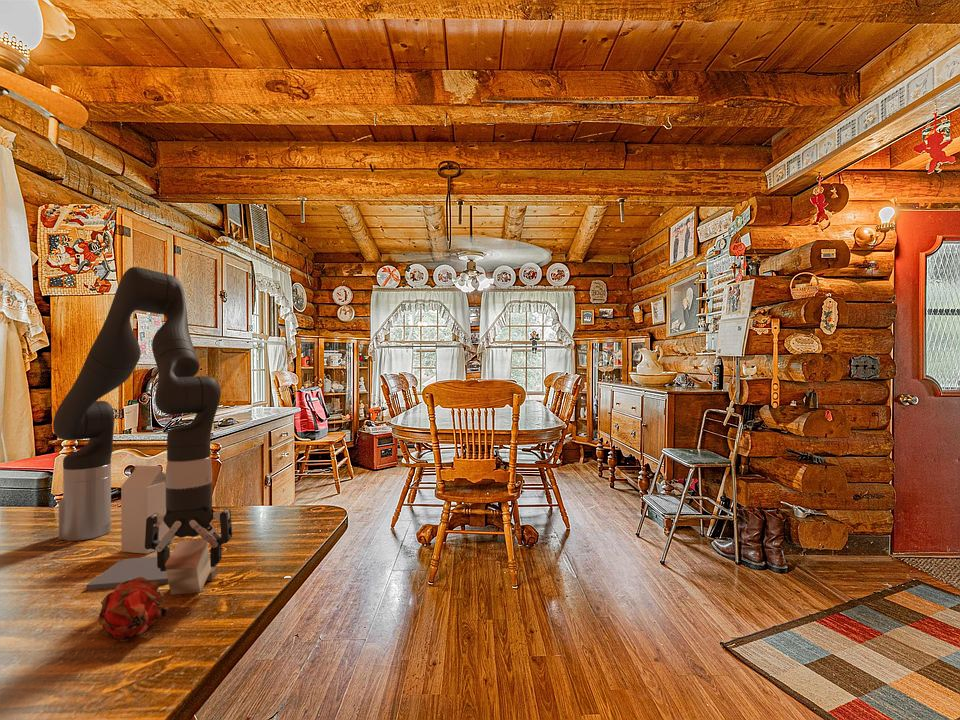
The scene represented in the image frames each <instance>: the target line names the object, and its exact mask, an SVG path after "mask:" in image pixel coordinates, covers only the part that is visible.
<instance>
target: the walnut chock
mask: <svg viewBox="0 0 960 720" xmlns="http://www.w3.org/2000/svg"><path fill="white" fill-rule="evenodd" d="M211 568H212V569H211V571H210V573H209V575H208V577H207V579H206V581H205V582H209V581H210V582H211V581H214V579H215V578H216V577H217V576H218V575H219V566H218V565H216V566H215V567H211Z"/></svg>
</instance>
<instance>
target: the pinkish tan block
mask: <svg viewBox="0 0 960 720" xmlns="http://www.w3.org/2000/svg"><path fill="white" fill-rule="evenodd" d="M165 568H166V573H167V578H168V587H169V591H170V595H173V596H174V595H183V594H194V593H201V592H202V590H203V588H204V586H205V583H206V582H207V581H206V579H207V577H208V575H209V573H210V571H211V569H212V568H211V566H210V549H209V543H208V542H207V541H206V540H204V539H197V540H183V541H178V542H177V543H176V546H175V547H174V548H173V550H172V552H171V553H170V557H169V559H168V560H167V562H166V564H165Z"/></svg>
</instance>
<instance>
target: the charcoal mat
mask: <svg viewBox="0 0 960 720" xmlns="http://www.w3.org/2000/svg"><path fill="white" fill-rule="evenodd" d="M138 577H143V578H145V579H146V580H147V581H157V582H158V583H160V585H167V584H168V585H169V583H168V578H167V573H166V571H162V572H161V571H160V568H159V569H158V567H157V556H147V557H133V558H131V557H130V558H121V559H120V560H118V561H117V562H115V563H114V564H113V565H112V566H110V567H108V568H107V569H106V570H104V572H103V573H101V574H99V575H98V576H96V577H95V578H94V579H93V580H91V581H90V582H88V583H87V584H86V585H85V587H86V589H85V590H86V591H94V590H96V591H97V590H107V589H115V588H116V587H117V586H118V585H119V584H120V583H122V582H125V581H128V580H133V579H135V578H138Z"/></svg>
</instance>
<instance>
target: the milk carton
mask: <svg viewBox="0 0 960 720" xmlns="http://www.w3.org/2000/svg"><path fill="white" fill-rule="evenodd" d="M165 478H166V472H163V471H162V466H161V465H144V464H140V465H139V464H135V465H134V470H133V471H132V473H131V474H130V475H129V476H128V478H126V479H125V481H124V482H123V484H121V486H120V487H121V488H120V489H121V491H120V492H121V493H120V495H121V496H120V497H121V500H120V501H121V503H120V504H121V507H120V508H121V518H120V519H121V523H120V524H121V526H120V527H121V531H120V532H121V537H120V538H121V540H120V541H121V552H124V553H136V554H145V555H147V554H150V553H152V552H155V550H153V549H146V548H145V533H146V519H147V518H148V517H150V516H151V515H153V514H154V513H158V514H159V515H165V514H166V484H165ZM168 531H169V528H168V527H167V525H166V524H165V523H164V521H163V522H162V524H161V525H160V526H159V535H158V540H160V541H161V540H162V538H163V537H164V536H165V535H166V533H167V532H168ZM172 543H174V539H173V540H172V541H171V542H170V544H172Z"/></svg>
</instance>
